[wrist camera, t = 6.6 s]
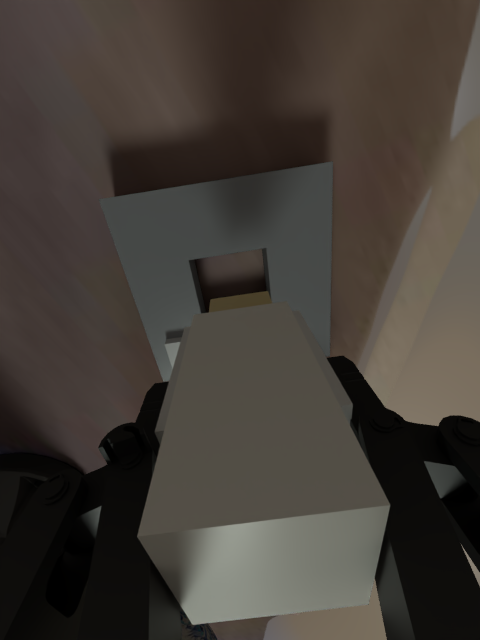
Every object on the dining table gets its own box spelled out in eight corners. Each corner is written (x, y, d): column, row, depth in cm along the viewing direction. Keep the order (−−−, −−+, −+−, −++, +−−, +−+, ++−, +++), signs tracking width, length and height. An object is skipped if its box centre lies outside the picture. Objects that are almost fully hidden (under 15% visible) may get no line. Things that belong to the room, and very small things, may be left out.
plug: (213, 355, 17) (192, 624, 7) (199, 292, 15) (137, 536, 5) (281, 345, 17) (368, 604, 7) (276, 280, 15) (390, 504, 5)
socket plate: (169, 362, 28) (161, 387, 25) (114, 197, 21) (93, 200, 17) (319, 339, 28) (332, 361, 24) (318, 164, 20) (337, 160, 17)
